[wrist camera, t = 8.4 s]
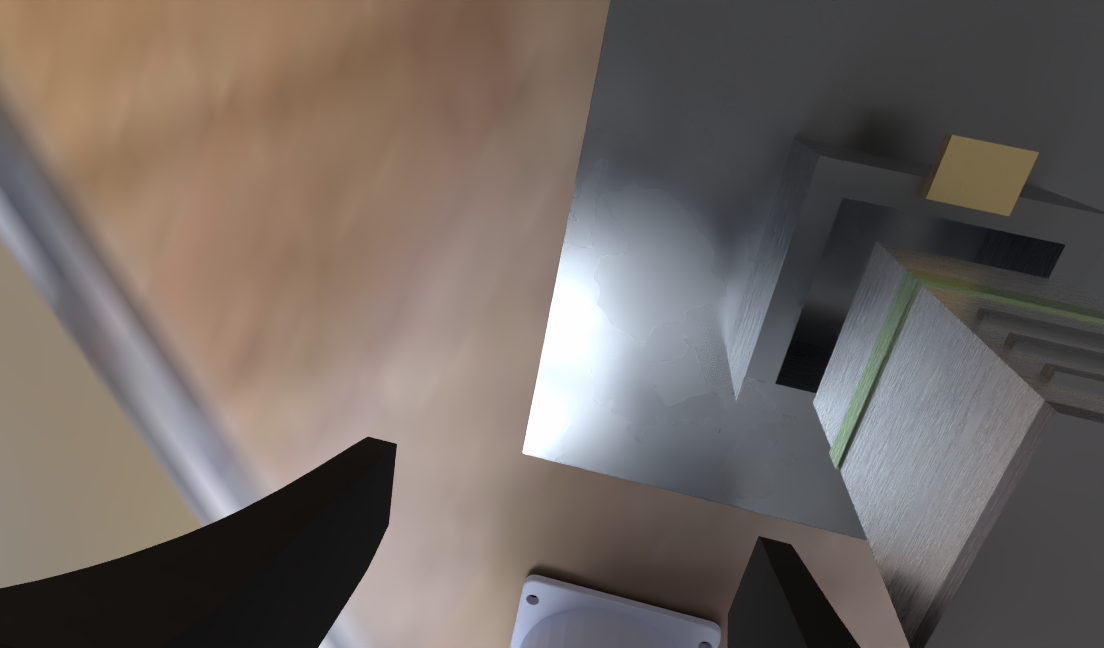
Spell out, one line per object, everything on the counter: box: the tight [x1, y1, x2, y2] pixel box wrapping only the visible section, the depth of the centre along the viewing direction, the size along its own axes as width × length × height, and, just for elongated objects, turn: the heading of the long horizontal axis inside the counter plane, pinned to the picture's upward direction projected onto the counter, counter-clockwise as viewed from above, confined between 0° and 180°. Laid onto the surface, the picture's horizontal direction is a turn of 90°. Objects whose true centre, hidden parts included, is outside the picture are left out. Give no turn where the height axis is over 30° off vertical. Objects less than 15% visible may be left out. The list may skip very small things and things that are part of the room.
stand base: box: [523, 0, 1104, 540], centre depth 18 cm, size 18×18×5 cm
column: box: [813, 241, 1104, 648], centre depth 11 cm, size 4×4×7 cm
